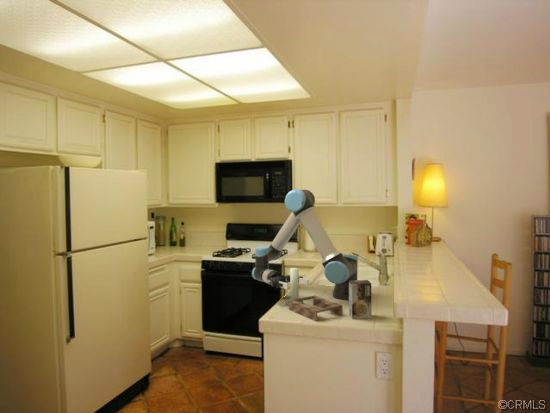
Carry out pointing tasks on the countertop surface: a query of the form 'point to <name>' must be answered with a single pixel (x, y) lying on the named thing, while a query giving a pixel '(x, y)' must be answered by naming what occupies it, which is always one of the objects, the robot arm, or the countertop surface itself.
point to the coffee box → (360, 299)
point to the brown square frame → (314, 307)
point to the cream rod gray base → (294, 285)
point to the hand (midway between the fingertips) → (298, 284)
